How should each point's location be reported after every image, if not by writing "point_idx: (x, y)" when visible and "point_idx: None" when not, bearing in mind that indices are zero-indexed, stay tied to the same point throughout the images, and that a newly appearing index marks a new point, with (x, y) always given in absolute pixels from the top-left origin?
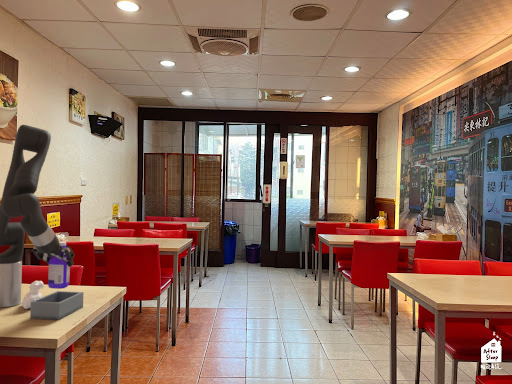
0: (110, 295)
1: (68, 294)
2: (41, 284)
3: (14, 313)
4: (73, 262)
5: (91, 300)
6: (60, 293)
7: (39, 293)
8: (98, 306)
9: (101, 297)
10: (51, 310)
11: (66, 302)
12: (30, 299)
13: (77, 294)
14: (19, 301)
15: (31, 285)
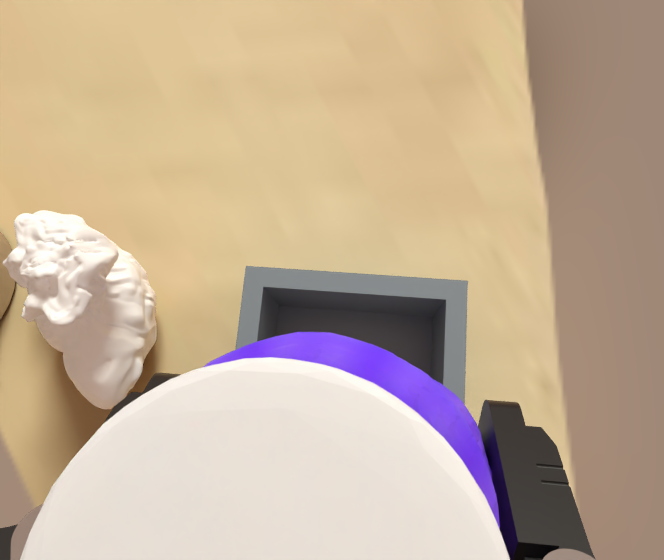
0: (494, 37)
1: (350, 296)
2: (101, 272)
3: None
4: (543, 432)
5: (426, 154)
6: (283, 290)
7: (120, 287)
8: (541, 279)
9: (457, 85)
10: None
11: None
12: (114, 401)
13: (456, 354)
14: (6, 271)
15: (33, 312)
